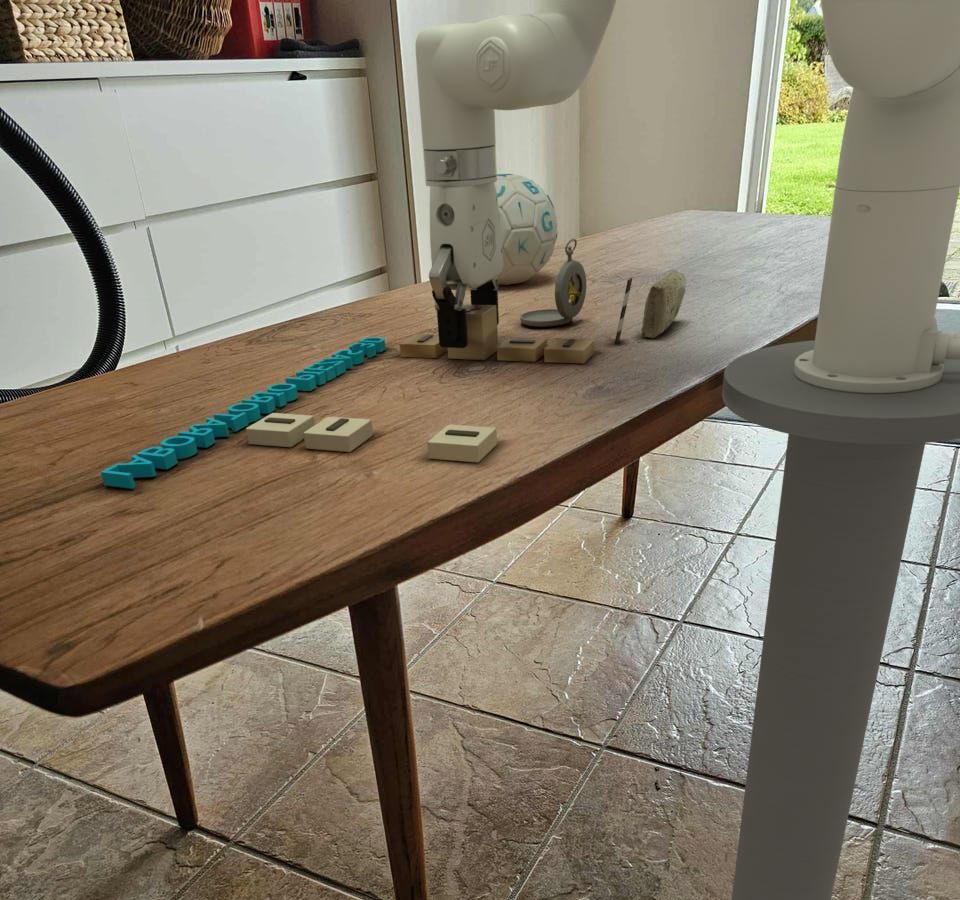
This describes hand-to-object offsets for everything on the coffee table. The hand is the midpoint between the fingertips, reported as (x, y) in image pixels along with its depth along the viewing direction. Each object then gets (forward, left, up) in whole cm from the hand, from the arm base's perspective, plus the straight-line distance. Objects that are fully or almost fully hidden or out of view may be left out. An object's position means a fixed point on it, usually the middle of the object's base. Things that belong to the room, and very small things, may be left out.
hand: (470, 335), depth 102 cm
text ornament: (+13, +22, -2) cm, 25 cm away
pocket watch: (-5, -15, -2) cm, 16 cm away
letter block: (0, 0, -2) cm, 2 cm away
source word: (-3, 0, -2) cm, 4 cm away
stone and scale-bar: (-18, -12, -2) cm, 22 cm away
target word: (-2, +30, -2) cm, 30 cm away
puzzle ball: (+10, -40, -2) cm, 41 cm away
